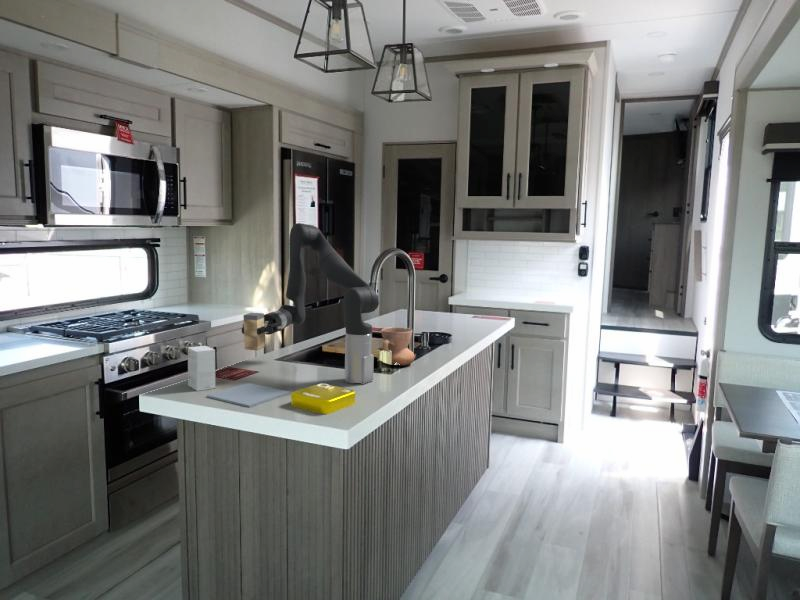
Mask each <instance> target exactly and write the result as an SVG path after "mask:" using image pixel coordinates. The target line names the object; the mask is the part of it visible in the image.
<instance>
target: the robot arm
mask: <svg viewBox="0 0 800 600" xmlns="http://www.w3.org/2000/svg"><path fill="white" fill-rule="evenodd" d="M292 225H293V226H291V228H290V232H289V239H288V240H289V241H288V245H289V247H288V253H289V254H288V263H289V264H288V265H289V266H288V268H289V269H288V270H289V271H288V277H287V278H288V279H287V285H286V286H287V287H286V291H285V292H286V293H285V297H286V299H288V300H290V301H292V302H293V303H294V305H290V304H283V305H281V306H280V308H278V310H275V311H271V312H268V313H265V314H264V326H263V327H260V328H257V335H260V334H262V333H264V335H273V334H275V333H277V332H280V331H282V330H283V329H286V328H287V327H289V326H290V325H293V326H294V325H295V326H301V325H302V324H303V323H304V322H305V320H306V306H305V292H306V285H307V276H306V272H305V269H304V267H303V263H302V258H301V256H302V255H301V252H302V249H309V250H312V252H313V253H315V255H316V256H317V262H316V263H317V267H318V269H319V270H320V272H321V273H322V275H323V276H324V277H325V278H326V279H327V280H328V281H329V282H331V283H332V284H334V285H336V286H338V287H340V288H343V289H344V290H346V291H345V292H344V295H343V323H344V327H345V341H344V342H345V345H344V347H345V351H344V354H345V355H344V381H345V383H348V382H349V383H348V384H353V383H361V384H360V385H365V383H366V384H368V383H371V382H373V381H374V366H375V365H374V363H375V362H374V359H375V358H374V357H375V355H374V354H373V353H372V348H373V347H372V346H373V345H372V343H373V326H372V324H370V323H368V322H365V321H363V319H362V314H369V313H373V312H374V311H376V310H377V309H378V307H379V304H380V302H379V301H380V300H379V296H378V294H377V292H376V291H375V289H374V288H373V287H372V286H371V285H370V284H368V283H367V282H366V281H365V280H364V279H363V278H362V277H360V276H359V275H358V274H357V273H356V271H354V270H353V268H352V267H351V266H350V265H349V264H348V263H347V262H346V261H345V259H344V258H343V257H342V256H341V255H340V254H339V253H338V252H337V251H336V250H335V248H333V246H332V245H331V244H330V243H329V241H328V240H327V238H326V237H325V236H324V233H322V231H321V230H320V229H319V228H318V227H317V226H316V225H313V224H305V223H301V222H300V223H294V224H292ZM241 333H242V334H243V335H244V323H243V324H242V327H241ZM372 380H373V381H372ZM370 381H371V382H370ZM367 382H368V383H367Z"/></svg>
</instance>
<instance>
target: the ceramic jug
mask: <svg viewBox="0 0 800 600" xmlns="http://www.w3.org/2000/svg"><path fill="white" fill-rule="evenodd" d="M380 331H381V336H382V339H383V342H382V344H381V345H382V346H381V347H382V351H383V350H385V351H386V350H387V351H388V350H391V351H392V364H393V365H394V364H395V363H396V362H397V363H399V364H400V366H399V367H404V366H408V365H411V364H412V363H413V362H414V360H415V357H416V356H415V353H414V352H413V351H412V349H409V348H408V346H409V344H410V342H411V339H412V335H413V329H412V328H410V327H404V326H402V327H401V326H391V327H384V328H382V329H381V330H380ZM378 357H379V355H378Z"/></svg>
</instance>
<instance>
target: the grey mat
mask: <svg viewBox="0 0 800 600" xmlns="http://www.w3.org/2000/svg"><path fill="white" fill-rule="evenodd" d="M289 394H290V395H291V392H290V391H288V390H283V389H279V388H275V387H270V386H264V385H260V384H255V383H251V382H247V383H244V384H240V385H237V386H233V387H230V388H225V389H223V390H219V391H217V392H213V393H210V394H207V395H206V398H209V399H212V400H213V399H214V400H217V401H222V402H226V403H231V404H235V405H238V406H243V407H248V408H251V407H255V406H257V405H260V404H263V403H266V402H269V401H271V400H275V399H277V398H281V397H284V396H286V395H289Z"/></svg>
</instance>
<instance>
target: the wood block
mask: <svg viewBox="0 0 800 600" xmlns="http://www.w3.org/2000/svg"><path fill="white" fill-rule="evenodd" d="M264 315H265V314H264V312H248V313H246V314H243V324H244V334H243V336H244V337H243V338H244V340H243V342H244V350H246V351H247V350H248V351H260V350H262V349H264V348H265V346H266V345H265V344H266V343H265V342H266V341H265V334H264V333H262V334H260V335H257V328H260V327H263V326H264Z"/></svg>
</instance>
